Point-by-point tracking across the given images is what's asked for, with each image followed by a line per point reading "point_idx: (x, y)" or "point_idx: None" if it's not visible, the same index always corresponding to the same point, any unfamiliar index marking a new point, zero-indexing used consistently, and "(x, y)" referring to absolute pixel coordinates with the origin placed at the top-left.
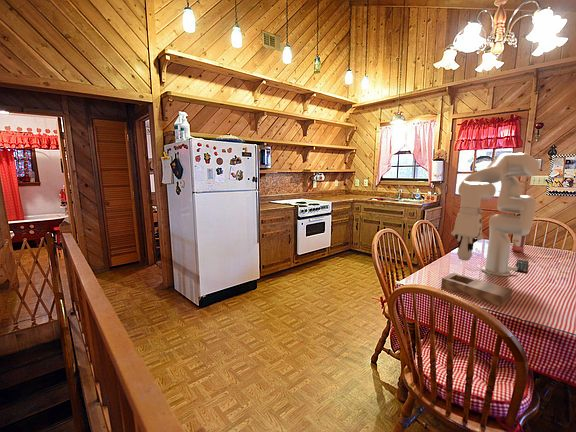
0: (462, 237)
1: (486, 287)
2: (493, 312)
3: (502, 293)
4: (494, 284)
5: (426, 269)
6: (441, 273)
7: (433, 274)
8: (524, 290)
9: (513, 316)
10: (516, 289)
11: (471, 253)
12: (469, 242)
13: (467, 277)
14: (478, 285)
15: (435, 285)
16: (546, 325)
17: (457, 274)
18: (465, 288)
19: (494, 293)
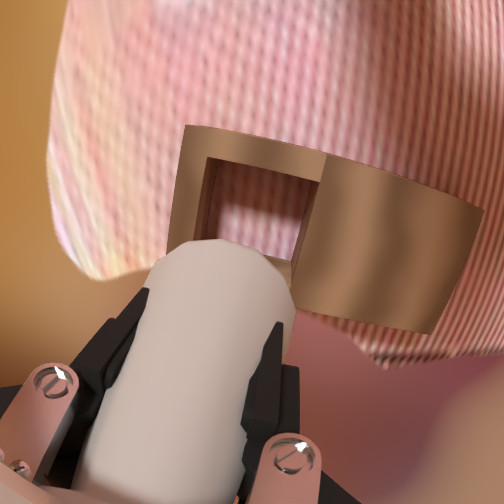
0: (57, 444)
1: (382, 269)
2: (385, 365)
3: (438, 300)
4: (419, 189)
5: (64, 58)
6: (127, 49)
7: (101, 98)
8: (491, 52)
9: (434, 353)
10: (470, 54)
11: (289, 338)
12: (239, 497)
13: (275, 160)
14: (346, 265)
15: (155, 248)
16: (492, 347)
17: (211, 143)
18: None
19: (407, 322)
